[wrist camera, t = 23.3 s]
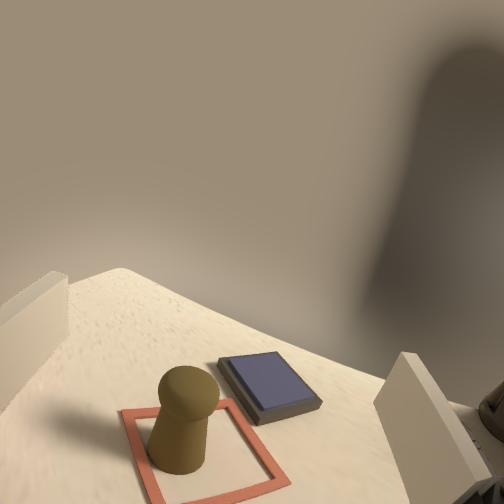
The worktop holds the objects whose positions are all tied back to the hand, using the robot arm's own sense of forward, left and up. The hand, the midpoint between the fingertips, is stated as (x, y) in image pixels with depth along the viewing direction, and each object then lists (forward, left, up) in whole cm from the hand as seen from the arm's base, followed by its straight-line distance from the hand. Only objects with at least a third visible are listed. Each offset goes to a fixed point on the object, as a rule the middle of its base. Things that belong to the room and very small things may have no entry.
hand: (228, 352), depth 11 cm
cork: (+10, -4, -22) cm, 24 cm away
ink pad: (+17, -19, -22) cm, 34 cm away
